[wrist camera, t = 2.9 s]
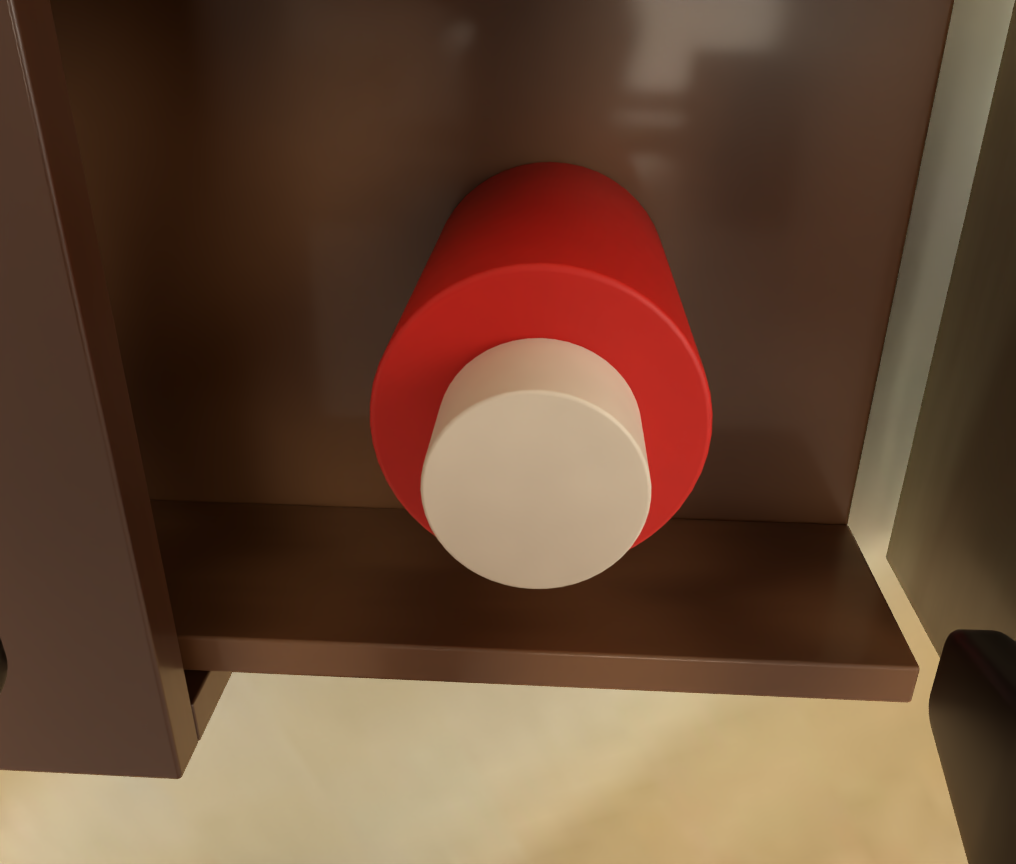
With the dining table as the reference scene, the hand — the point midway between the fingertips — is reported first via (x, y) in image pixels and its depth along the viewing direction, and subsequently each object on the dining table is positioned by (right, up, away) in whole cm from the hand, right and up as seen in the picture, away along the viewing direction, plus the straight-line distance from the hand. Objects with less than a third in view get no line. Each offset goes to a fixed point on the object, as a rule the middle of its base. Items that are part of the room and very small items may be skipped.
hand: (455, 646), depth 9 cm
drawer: (+3, +5, +10) cm, 12 cm away
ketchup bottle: (+1, +5, +9) cm, 10 cm away
